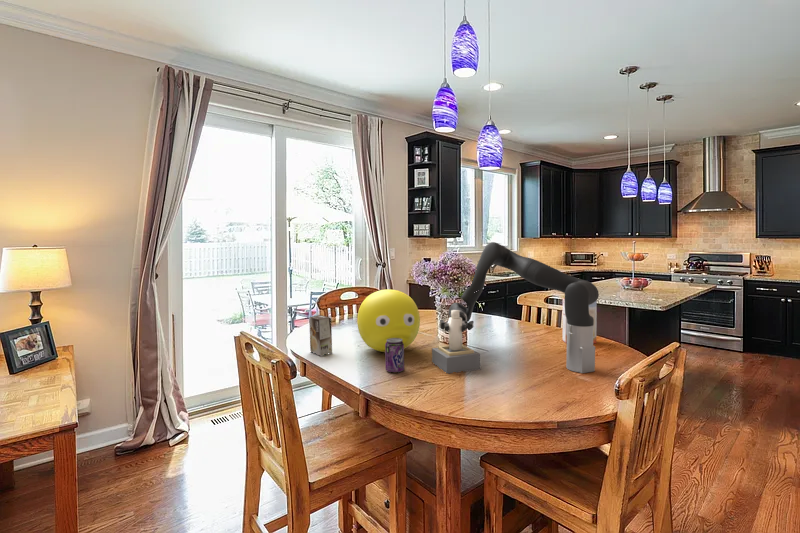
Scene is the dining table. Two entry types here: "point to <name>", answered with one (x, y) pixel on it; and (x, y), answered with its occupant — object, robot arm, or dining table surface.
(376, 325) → the head sculpture
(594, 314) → the cracker box
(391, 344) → the beverage can
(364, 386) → the dining table surface
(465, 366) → the display riser
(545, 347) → the dining table surface
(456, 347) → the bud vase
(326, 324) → the coffee box
